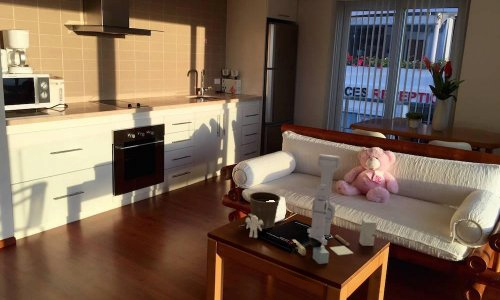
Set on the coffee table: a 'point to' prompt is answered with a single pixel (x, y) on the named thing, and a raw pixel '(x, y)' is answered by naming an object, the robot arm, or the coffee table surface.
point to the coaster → (341, 250)
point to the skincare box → (367, 232)
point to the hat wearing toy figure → (253, 225)
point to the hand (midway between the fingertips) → (315, 253)
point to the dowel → (342, 240)
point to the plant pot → (264, 208)
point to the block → (320, 255)
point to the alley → (302, 248)
